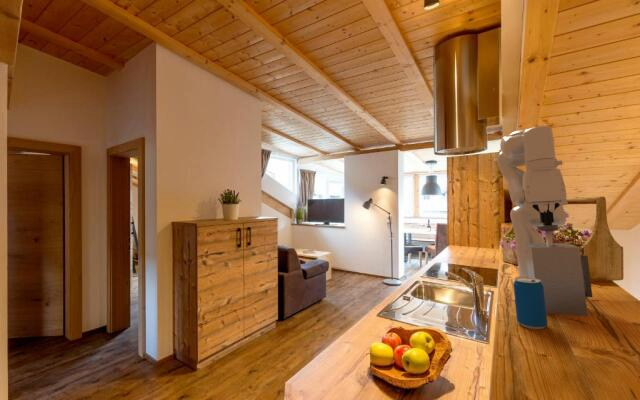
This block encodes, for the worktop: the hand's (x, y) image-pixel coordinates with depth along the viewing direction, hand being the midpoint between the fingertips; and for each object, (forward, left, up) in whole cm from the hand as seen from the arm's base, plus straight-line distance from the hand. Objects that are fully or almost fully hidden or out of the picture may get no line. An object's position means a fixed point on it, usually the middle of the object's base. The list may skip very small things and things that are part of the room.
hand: (547, 225), depth 86 cm
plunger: (0, 0, -19) cm, 19 cm away
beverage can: (+17, -9, -26) cm, 32 cm away
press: (0, +1, -25) cm, 25 cm away
